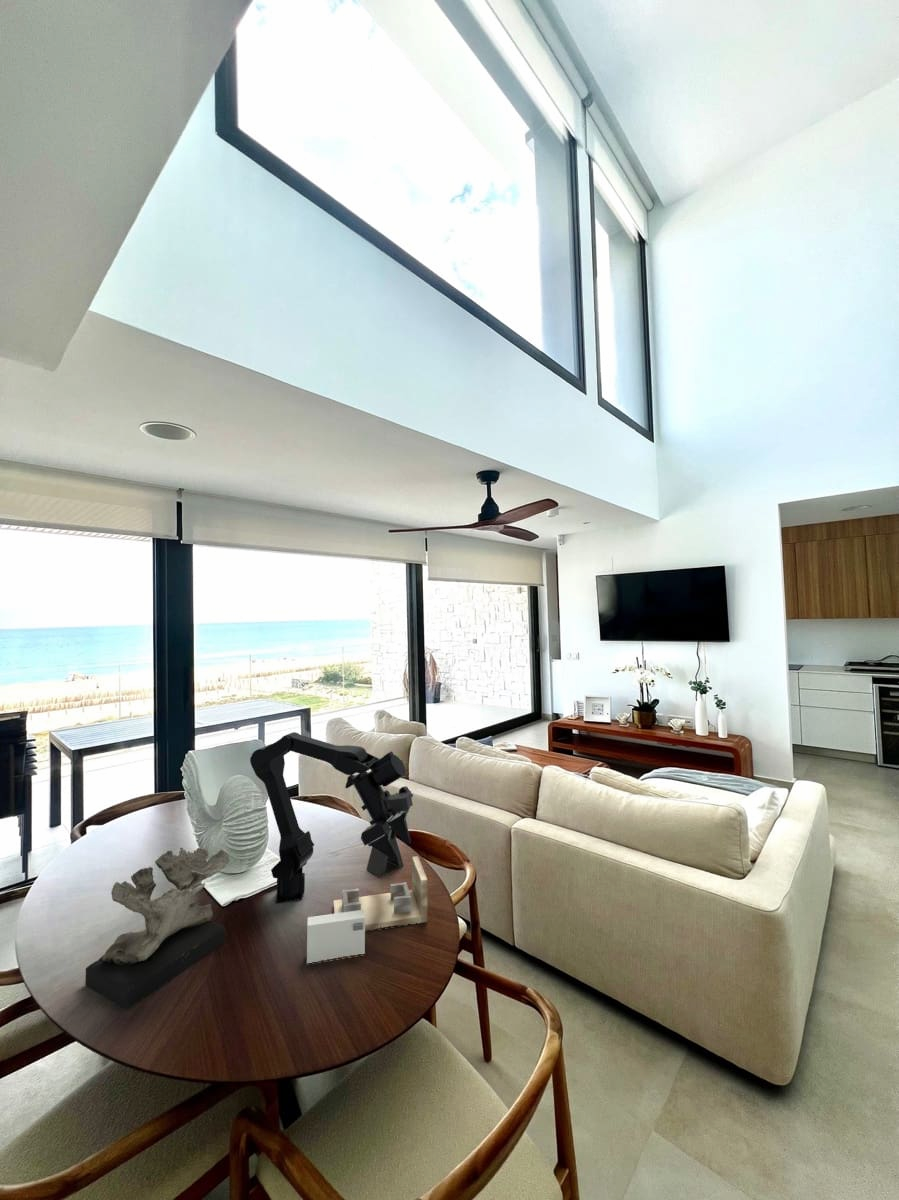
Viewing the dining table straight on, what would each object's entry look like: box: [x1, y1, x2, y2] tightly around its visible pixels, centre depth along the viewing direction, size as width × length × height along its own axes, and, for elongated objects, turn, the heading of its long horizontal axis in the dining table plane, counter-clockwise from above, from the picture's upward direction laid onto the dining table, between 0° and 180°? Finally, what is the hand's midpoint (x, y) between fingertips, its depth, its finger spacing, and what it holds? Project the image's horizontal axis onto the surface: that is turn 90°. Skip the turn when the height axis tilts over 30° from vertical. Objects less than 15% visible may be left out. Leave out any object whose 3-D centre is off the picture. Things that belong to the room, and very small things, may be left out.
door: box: [306, 910, 366, 964], centre depth 107 cm, size 12×4×8 cm, turn 105°
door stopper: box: [366, 826, 405, 878], centre depth 145 cm, size 9×6×12 cm, turn 137°
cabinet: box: [333, 855, 428, 931], centre depth 123 cm, size 22×12×10 cm, turn 105°
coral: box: [84, 847, 230, 1010], centre depth 105 cm, size 25×20×22 cm
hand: (403, 851), depth 123 cm, fingers open, 9 cm apart
